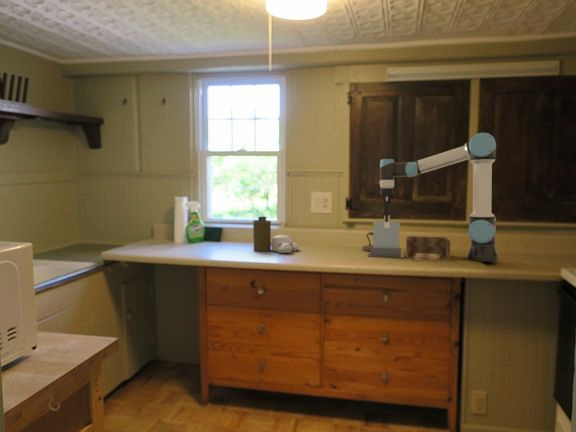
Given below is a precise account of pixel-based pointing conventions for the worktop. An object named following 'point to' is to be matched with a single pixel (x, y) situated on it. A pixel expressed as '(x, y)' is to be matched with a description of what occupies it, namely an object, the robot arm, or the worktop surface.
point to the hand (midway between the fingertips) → (386, 226)
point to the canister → (262, 234)
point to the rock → (283, 244)
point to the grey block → (385, 253)
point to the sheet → (386, 235)
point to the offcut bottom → (432, 260)
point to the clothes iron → (368, 247)
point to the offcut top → (428, 255)
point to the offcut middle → (426, 258)
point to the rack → (428, 246)
